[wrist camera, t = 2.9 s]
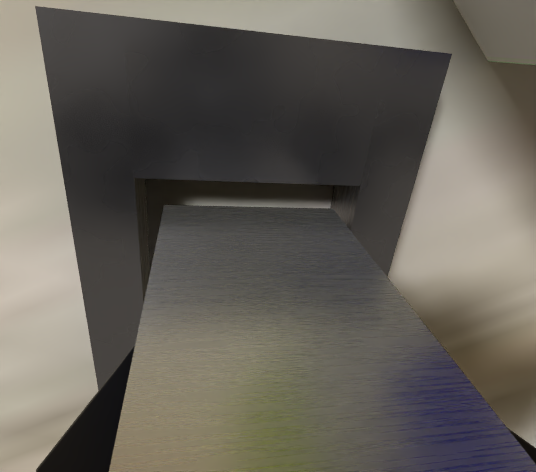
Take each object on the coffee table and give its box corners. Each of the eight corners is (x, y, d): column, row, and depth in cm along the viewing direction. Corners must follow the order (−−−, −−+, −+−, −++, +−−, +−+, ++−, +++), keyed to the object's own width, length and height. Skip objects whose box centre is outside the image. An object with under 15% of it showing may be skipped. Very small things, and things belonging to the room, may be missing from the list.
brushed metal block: (333, 208, 11) (549, 480, 4) (309, 333, 14) (426, 643, 7) (164, 205, 10) (93, 546, 3) (169, 339, 13) (132, 709, 6)
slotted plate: (413, 51, 11) (451, 53, 10) (320, 426, 20) (332, 464, 18) (64, 12, 10) (35, 6, 8) (123, 445, 18) (115, 490, 16)
